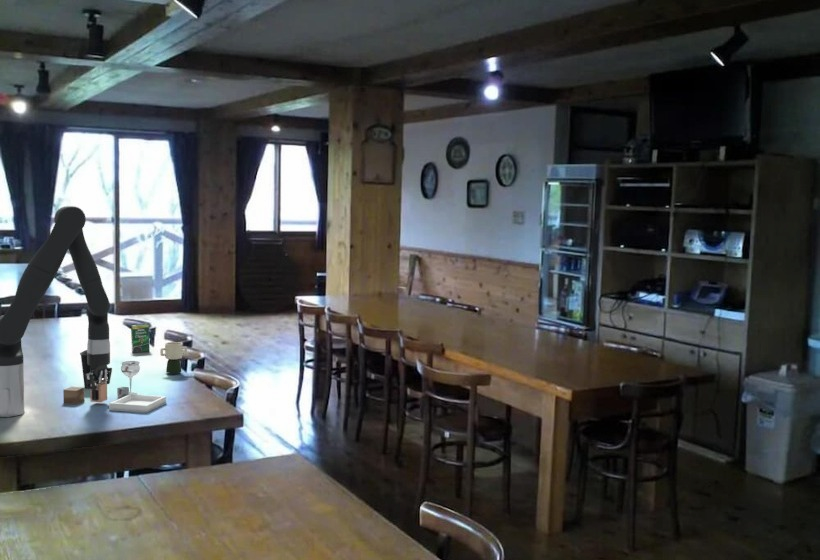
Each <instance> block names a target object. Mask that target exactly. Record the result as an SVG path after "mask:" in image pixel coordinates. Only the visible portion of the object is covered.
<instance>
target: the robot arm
mask: <svg viewBox="0 0 820 560" xmlns="http://www.w3.org/2000/svg"><path fill="white" fill-rule="evenodd" d="M53 219H54V225H53V228H52V229H51V232H50V234H49V235H48V237H47V239H46V240H45V242H44V243H43V244H42V246H40V247H39V249H37V251H36V252H35V254H34V255H33V257H31V259H30V261H29V262H28V264H27V266H26V267H25V269H24V271H23V273H22V275H21V277H20V278H19V279H20V280H19V281H18V285H17V289H16V292H15V296H14V298H13V300H12V302H11V304H10V305H9V306H8V309H7V310H6V312H5V313H4V314H3V315H0V418H10V417H11V418H12V417H15V416H17V417H18V416H19V415H23V414H25V377H24V376H25V375H24V373H25V371H24V370H25V369H24V367H25V366H24V363H25V362H24V353H23V348H22V338H23V337H24V335H25V333H26V330H27V328H28V326H29V322H30V320H31V318H32V317H33V314H34V312H35V310H36V308H37V307H38V305H39V304H40V302H41V301H42V300H43V299H44V298H43V297H44V296H45V294H46V293H47V291H48V290H49V289H50V286H51V285H52V283H53V281H54V280H55V277H56V275H57V273H58V272H59V270H60V267H61V265H62V264H63V261H64V259H65V257H66V255H67V252H69V253H70V258H71V261H72V263H73V266H74V270H75V273H76V276H77V279H78V282H79V284H80V285H79V286H80V287H81V289H82V291H83V292H84V295H85V299H86V305H87V306H86V307H87V308H86V309H87V319H88V320H87V322H88V326H87V327H88V328H87V346H86V347H87V349H86V350H87V364H88V365H90V366H91V368H90V373H89V374H85V379H86V384H87V388H88V389H87V388H86V389H87V390H90V391H91V390H92V400H96V401H97V400H98V399H99V390H98V388H99V384H100V383H107V385H109V384H110V383H111V377H112V373H113V368H112V367H108V365H110V364H111V342H110V326H109V322H108V317H109V311H110V309H111V303H110V299H109V297H108V295H107V293H106V290H105V288H104V286H103V282H102V279H101V275H100V272H99V269H98V266H97V263H96V261H95V260H94V259H95V258H94V257H93V255H92V253H91V251H90V249H89V247H88V244H87V242H86V239H85V236H84V231H83V228H84V227H85V225H86V220H87V219H86V214H85V212H84V211H83V209H82V208H80V207H78V206H76V205H75V206H74V205H67V206H62V207H60V208H59V209H57V210H56V212H55V215H54V218H53ZM94 380H97V381H94ZM95 383H96V386H95ZM90 384H91V386H90Z"/></svg>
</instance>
